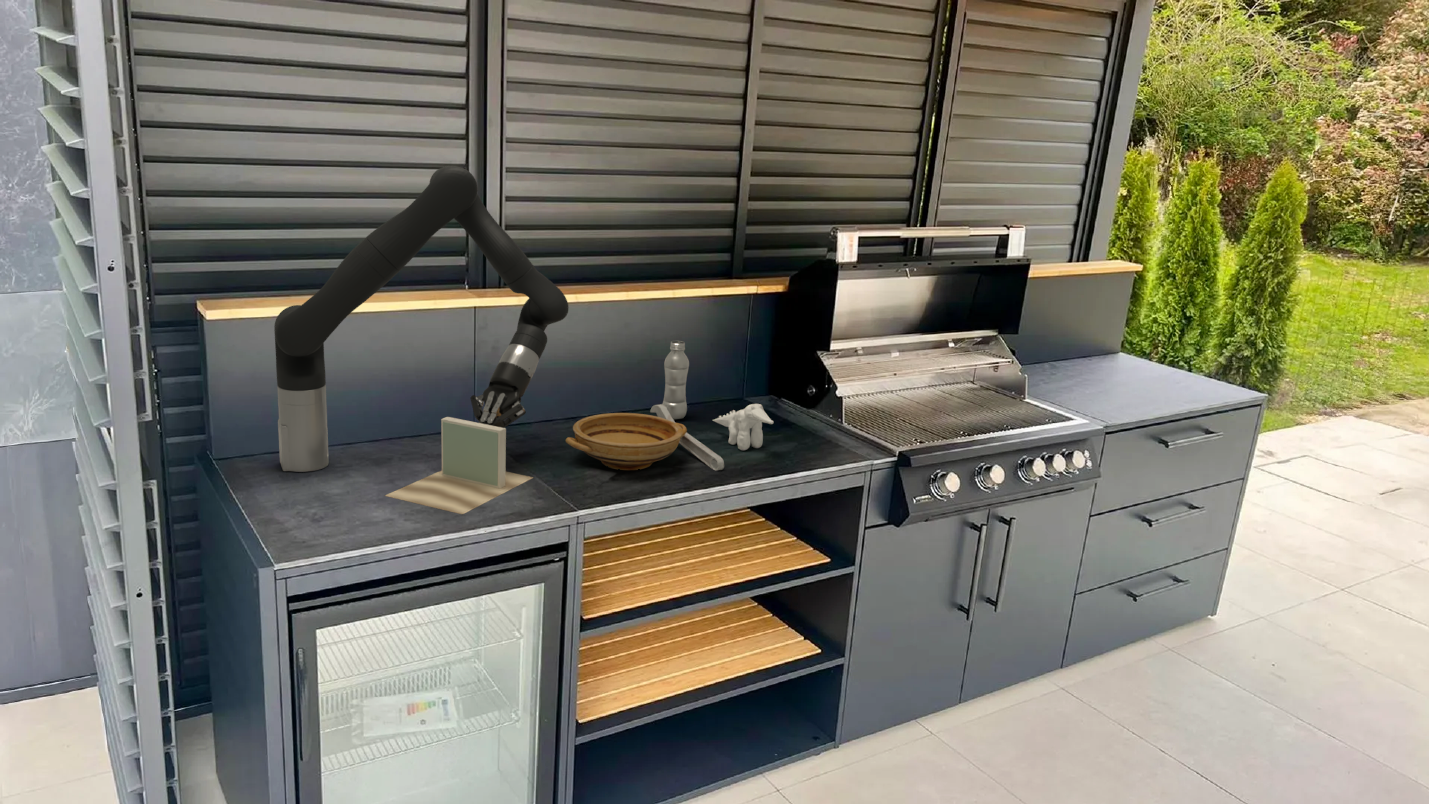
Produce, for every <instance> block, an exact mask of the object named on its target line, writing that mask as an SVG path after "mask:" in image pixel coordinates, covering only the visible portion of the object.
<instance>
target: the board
mask: <svg viewBox="0 0 1429 804" xmlns="http://www.w3.org/2000/svg"><path fill="white" fill-rule="evenodd" d="M532 479H534V477H533V476H529V475H524V474H519V473H514V472H511V471H506V472H505V486H504V487H502V488H500V489H499V488H495V487H490V486H486V485H482V484H477V483H473V482H468V481H464V480H459V479H455V478H450V477H446V476H442V469H441V470H440V471H437V472H434V473H433V474H430V475H428V476H426V477H423V478H422V479H418V480H417V481H414V482H412V483H410V484H408V485H405V486H403V487H401V488H399V489H396V490H395V491H392V492H390V493H387V494H386V495H384V497H389V498H393V499H396V500H401V501H405V502H408V503H413V504H417V505H421V506H426V507H429V508H434V509H438V510H441V511H442V510H443V511H446V512H449V513H450V512H451V513H454V514H458V515H464V514H466V513H468V512H470V511H472V510H474V509H476V508H478V507H480V506H482V505H484V504H486V503H488V502H489V501H492V500H493V499H495V498H497V497H499V496H501V495H504V494H505V493H507V492H509V491H511V490H513V489H515V488H516V487H518V486H520V485H522V484H524V483H527V482H529V481H530V480H532Z"/></svg>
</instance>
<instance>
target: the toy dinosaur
mask: <svg viewBox="0 0 1429 804" xmlns="http://www.w3.org/2000/svg"><path fill="white" fill-rule="evenodd" d="M712 421H713V422H715V423H717V424H719V425H722V426H724V427H726V428H728V431H729V433H728V434H729V438H728V444H730V445H732V446H734V445H736V444H737V449H739V450H740V451H746V450H748V449H749V448H750V446H751V448H752V447H753V448H754V449H760V448H761V447H762V446H763V439H764V434H763V430H762V427H763V423H764V424H769V425H773V424H774V420H772V418H770V417H769V415H768V414H767V413H766V411H765V410H764V407H763V405H762V404H759V403H752V404H749V405H747V406H746V407H745V408H743V409H740V410H737V411H736V410H734V409H733V410H731V411H729V413H726V415H725V414H724V415H718V417H717V418H715V419H712Z"/></svg>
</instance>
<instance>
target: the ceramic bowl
mask: <svg viewBox="0 0 1429 804" xmlns="http://www.w3.org/2000/svg"><path fill="white" fill-rule="evenodd" d="M572 430H573V433H574V437H570V436H569V437H567V438H566V439H565V443H566V444H567V445H569V446H571V447H572V448H574V449H577V450H579V451H582V452H584V453H585V454H586V455H587V456H590V457H592V458H593V459H596V460H598V461H601V463H602V464H603V466H606V467H607V466H608V467H607V468H610V469H614V470H618V469H620V471H639V470H638V469H640V470H644V469H647V468H649V467H651V466H652V464H653V463H655V462H657V461H661V460H664V459H665V458H668V457H669V456H671V455H672V454H673V453H674V452H675V450H676V449H677V447H678V446H679V442H680V438H682V437H683V436H684V435H685V434H686V432H687V431H688V429H687V427H686V425H684V424H682V423H679V422H675V423H674V422H672V421H670V420H667V419H664V418H660V417H658V416H657V415H650V414H645V413H644V414H643V413H634V412H633V413H632V412H614V413H613V412H612V413H611V412H610V413H601V414H595V415H590V416H586V417H583V418H581V419H579V420H578V421H576V422H574V424H573V425H572ZM687 433H688V432H687Z"/></svg>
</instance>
